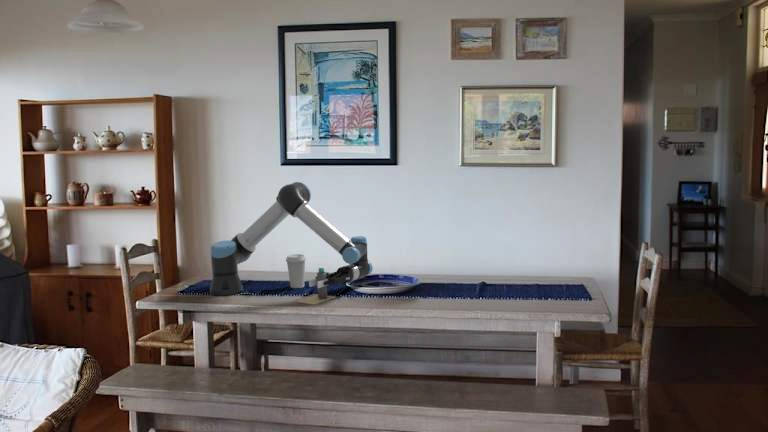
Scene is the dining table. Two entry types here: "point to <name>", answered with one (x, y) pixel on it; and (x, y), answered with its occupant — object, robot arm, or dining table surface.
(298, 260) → the coffee cup
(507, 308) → the dining table surface
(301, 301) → the notepad
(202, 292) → the dining table surface
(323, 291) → the grey bottle
